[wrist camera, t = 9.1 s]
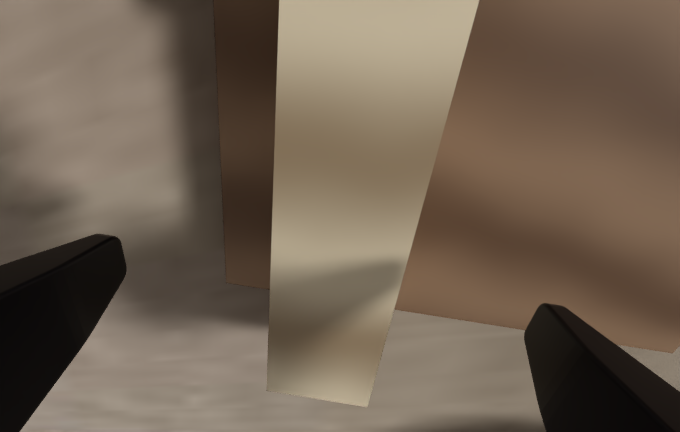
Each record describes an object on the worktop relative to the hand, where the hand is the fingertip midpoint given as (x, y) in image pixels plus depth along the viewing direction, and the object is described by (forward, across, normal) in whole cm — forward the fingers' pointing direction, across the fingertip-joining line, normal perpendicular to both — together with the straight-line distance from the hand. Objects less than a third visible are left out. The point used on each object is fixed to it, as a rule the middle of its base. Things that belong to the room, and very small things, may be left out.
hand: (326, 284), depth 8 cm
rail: (+7, 0, -2) cm, 7 cm away
